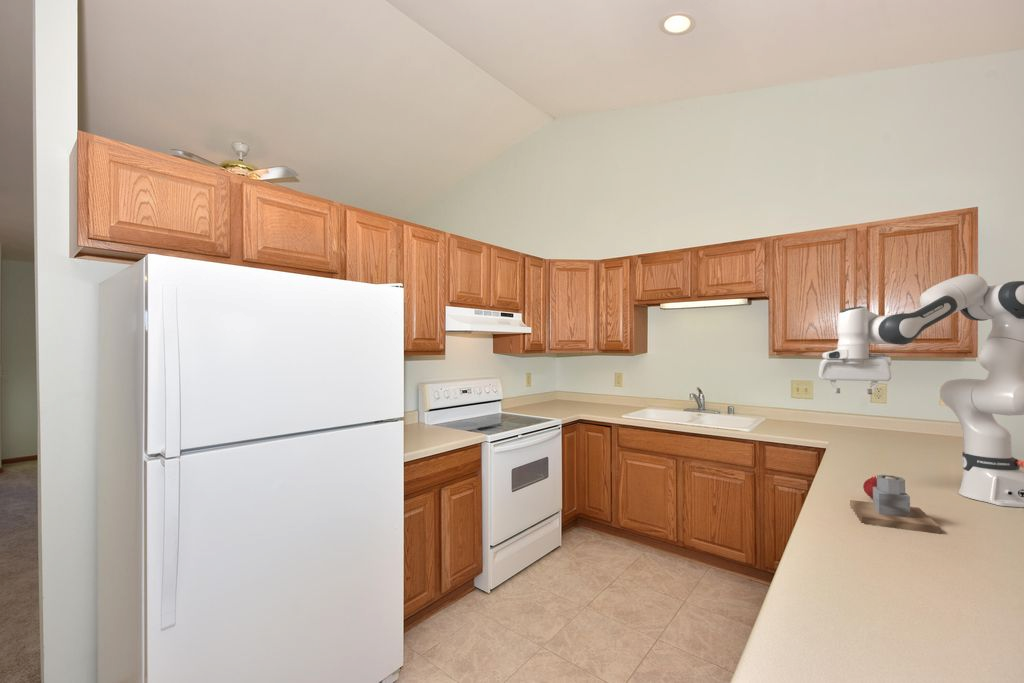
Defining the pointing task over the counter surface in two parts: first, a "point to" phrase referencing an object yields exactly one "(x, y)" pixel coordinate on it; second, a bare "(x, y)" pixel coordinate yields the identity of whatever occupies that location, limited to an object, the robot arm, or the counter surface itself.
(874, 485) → the red rounded piece
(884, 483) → the collar
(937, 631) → the counter surface
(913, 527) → the post stand
